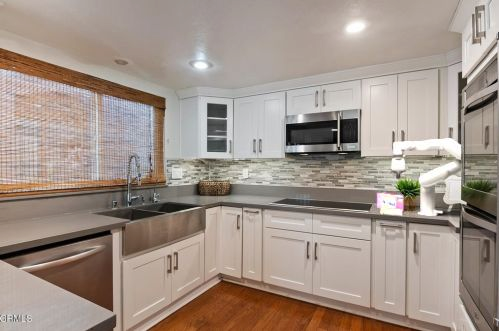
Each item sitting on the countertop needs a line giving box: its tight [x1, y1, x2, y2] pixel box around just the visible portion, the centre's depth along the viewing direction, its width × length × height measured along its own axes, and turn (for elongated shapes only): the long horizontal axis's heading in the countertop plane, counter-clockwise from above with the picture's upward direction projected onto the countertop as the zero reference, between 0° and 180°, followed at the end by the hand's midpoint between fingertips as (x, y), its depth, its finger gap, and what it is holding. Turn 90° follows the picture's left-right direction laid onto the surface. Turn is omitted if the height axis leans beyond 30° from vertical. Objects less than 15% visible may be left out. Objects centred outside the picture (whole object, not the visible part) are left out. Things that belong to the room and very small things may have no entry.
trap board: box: [379, 208, 403, 216], centre depth 215 cm, size 15×12×3 cm
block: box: [382, 204, 388, 210], centre depth 214 cm, size 4×4×4 cm
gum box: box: [376, 191, 404, 213], centre depth 231 cm, size 24×8×14 cm, turn 14°
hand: (398, 178), depth 220 cm, fingers closed
